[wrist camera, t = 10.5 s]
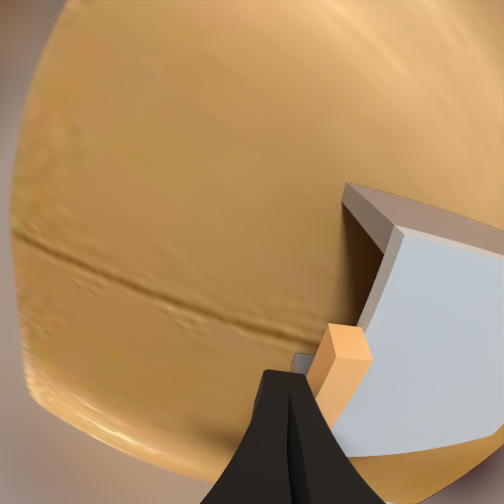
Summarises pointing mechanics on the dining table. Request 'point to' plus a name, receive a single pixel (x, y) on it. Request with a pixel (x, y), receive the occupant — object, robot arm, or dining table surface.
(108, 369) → the dining table surface
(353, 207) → the housing
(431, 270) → the lid
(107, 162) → the dining table surface
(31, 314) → the dining table surface
